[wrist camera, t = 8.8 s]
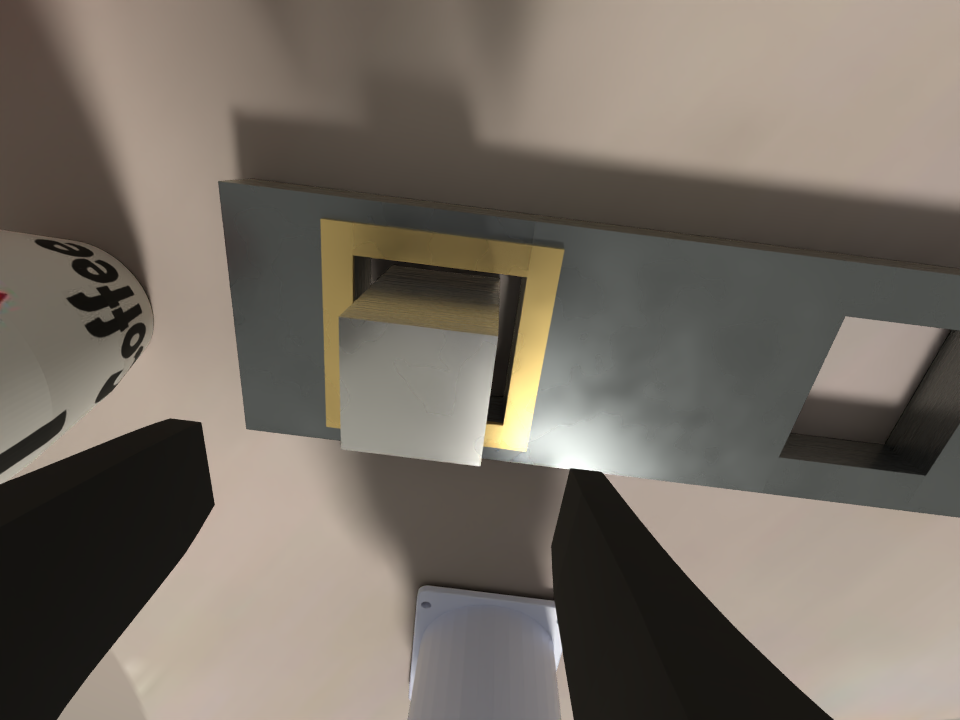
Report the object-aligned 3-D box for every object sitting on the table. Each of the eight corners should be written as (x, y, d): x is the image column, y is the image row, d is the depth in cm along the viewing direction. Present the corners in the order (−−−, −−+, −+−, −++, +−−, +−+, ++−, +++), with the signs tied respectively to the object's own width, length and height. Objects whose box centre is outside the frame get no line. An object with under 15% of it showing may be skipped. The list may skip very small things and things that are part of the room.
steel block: (487, 374, 18) (480, 466, 13) (389, 362, 18) (341, 449, 13) (499, 278, 17) (498, 336, 11) (392, 264, 17) (338, 316, 11)
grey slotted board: (961, 489, 19) (1014, 527, 17) (270, 403, 19) (243, 431, 17) (1103, 286, 16) (1191, 305, 14) (251, 178, 16) (214, 181, 14)
